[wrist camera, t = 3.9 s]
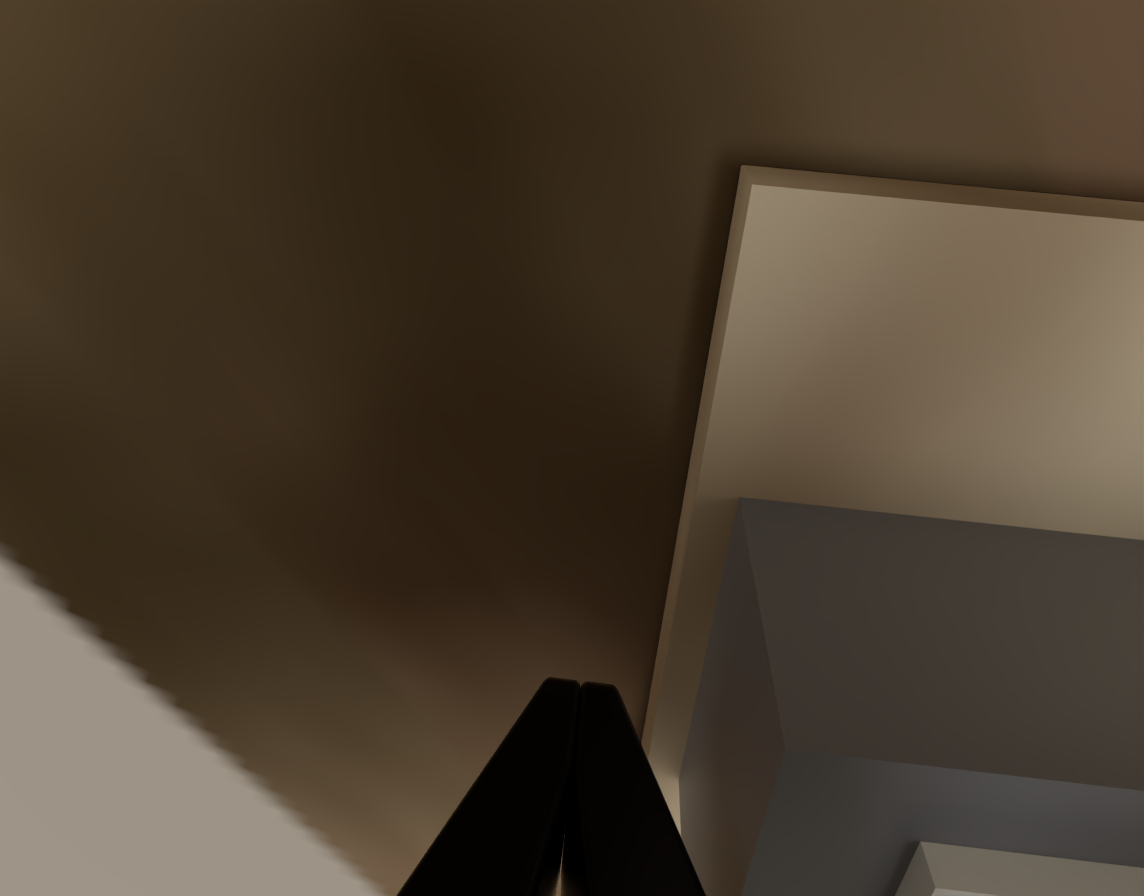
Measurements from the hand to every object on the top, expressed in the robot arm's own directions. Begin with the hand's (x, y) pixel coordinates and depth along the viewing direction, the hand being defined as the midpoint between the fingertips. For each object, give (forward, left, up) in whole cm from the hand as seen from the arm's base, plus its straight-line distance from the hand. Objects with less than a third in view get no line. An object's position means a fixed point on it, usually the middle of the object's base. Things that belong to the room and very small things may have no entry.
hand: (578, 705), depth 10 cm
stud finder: (-5, 0, -1) cm, 5 cm away
